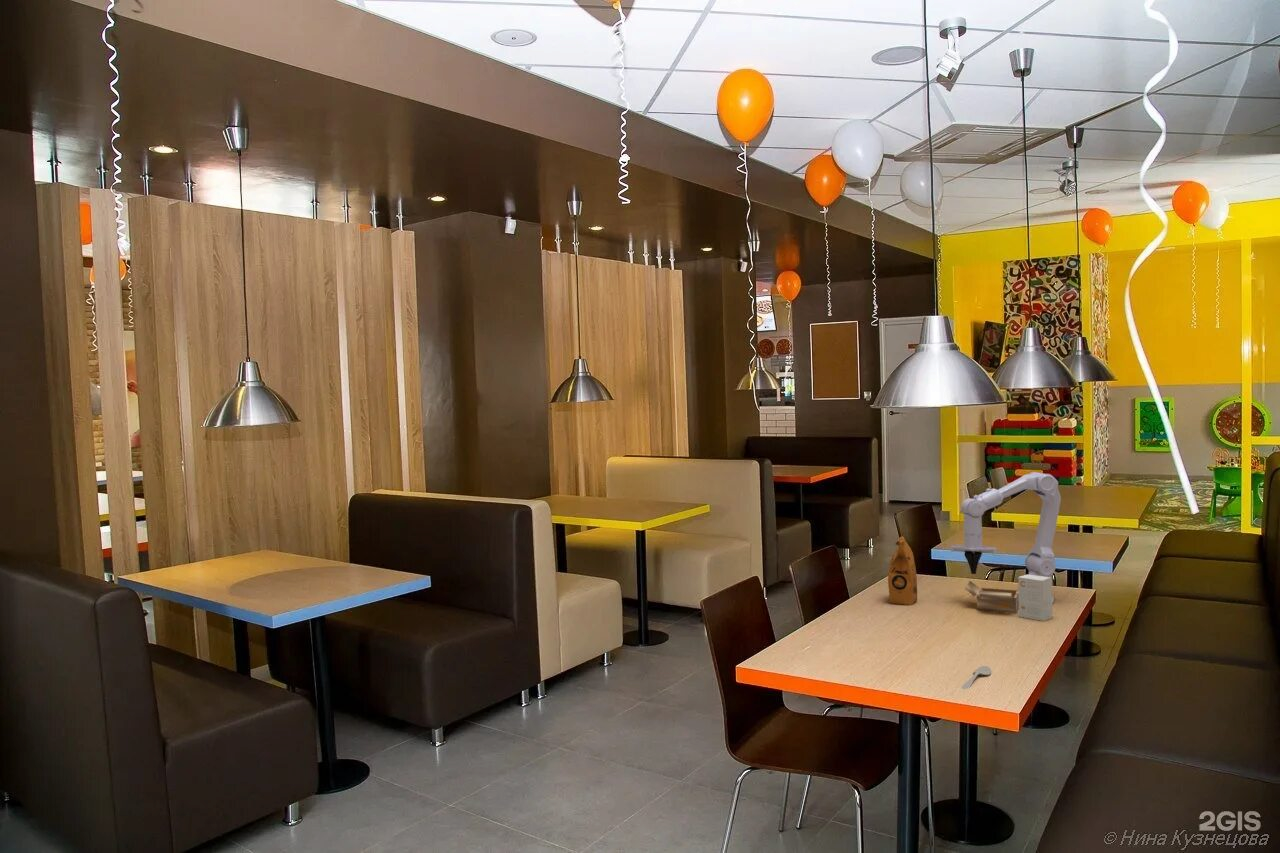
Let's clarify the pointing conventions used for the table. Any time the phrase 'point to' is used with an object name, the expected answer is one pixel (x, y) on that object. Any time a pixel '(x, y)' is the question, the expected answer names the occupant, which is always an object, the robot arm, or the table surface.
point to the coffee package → (902, 575)
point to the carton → (998, 602)
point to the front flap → (996, 595)
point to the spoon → (977, 672)
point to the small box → (1035, 597)
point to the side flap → (972, 588)
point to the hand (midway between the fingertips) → (973, 573)
